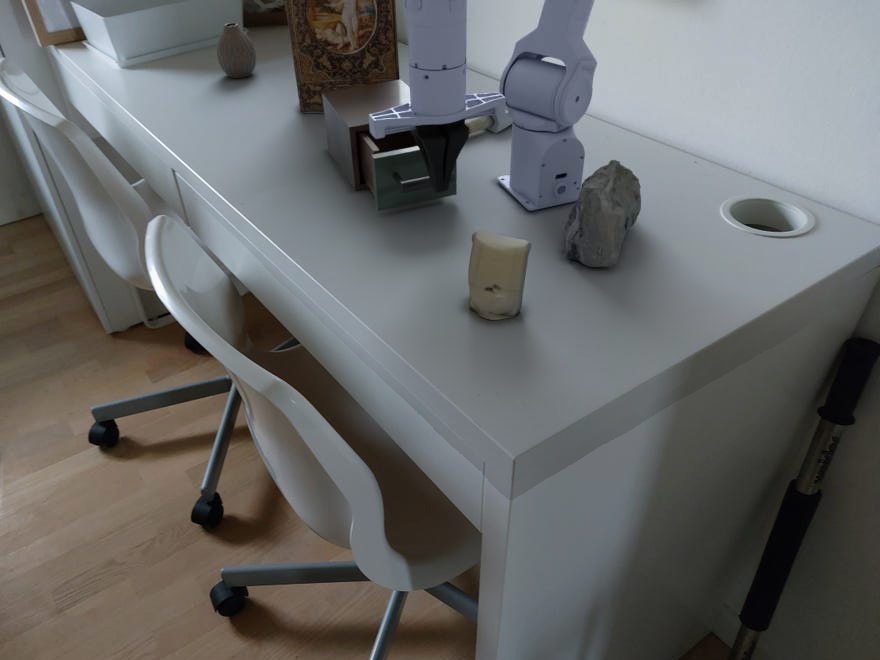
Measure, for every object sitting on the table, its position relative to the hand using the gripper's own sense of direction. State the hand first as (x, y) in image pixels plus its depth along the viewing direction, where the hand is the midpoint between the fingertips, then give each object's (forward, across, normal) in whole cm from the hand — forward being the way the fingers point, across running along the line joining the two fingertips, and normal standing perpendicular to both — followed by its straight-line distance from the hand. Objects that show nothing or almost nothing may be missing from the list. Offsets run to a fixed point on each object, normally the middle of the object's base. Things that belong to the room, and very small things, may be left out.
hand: (439, 187), depth 79 cm
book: (+6, -2, -46) cm, 46 cm away
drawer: (+5, 0, -12) cm, 13 cm away
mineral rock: (+6, -17, +8) cm, 20 cm away
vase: (+6, +12, -70) cm, 72 cm away
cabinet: (+6, 0, -22) cm, 23 cm away
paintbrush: (+6, -18, -27) cm, 33 cm away
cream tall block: (+6, 0, +16) cm, 17 cm away
